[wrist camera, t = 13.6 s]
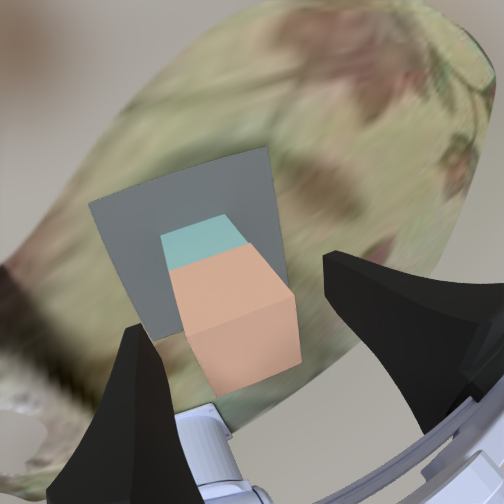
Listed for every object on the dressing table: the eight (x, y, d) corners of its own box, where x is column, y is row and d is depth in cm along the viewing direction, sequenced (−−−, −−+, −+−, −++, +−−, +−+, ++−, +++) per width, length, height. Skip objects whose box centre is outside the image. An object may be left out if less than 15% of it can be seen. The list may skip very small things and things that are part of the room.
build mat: (288, 288, 26) (289, 289, 26) (152, 339, 23) (152, 340, 23) (265, 146, 19) (267, 147, 19) (88, 203, 17) (88, 204, 17)
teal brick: (237, 268, 23) (263, 308, 19) (180, 289, 22) (194, 334, 18) (224, 214, 20) (250, 245, 16) (160, 235, 19) (169, 274, 15)
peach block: (263, 305, 18) (301, 362, 14) (193, 332, 18) (216, 397, 13) (250, 242, 16) (294, 295, 12) (168, 271, 15) (186, 336, 11)
